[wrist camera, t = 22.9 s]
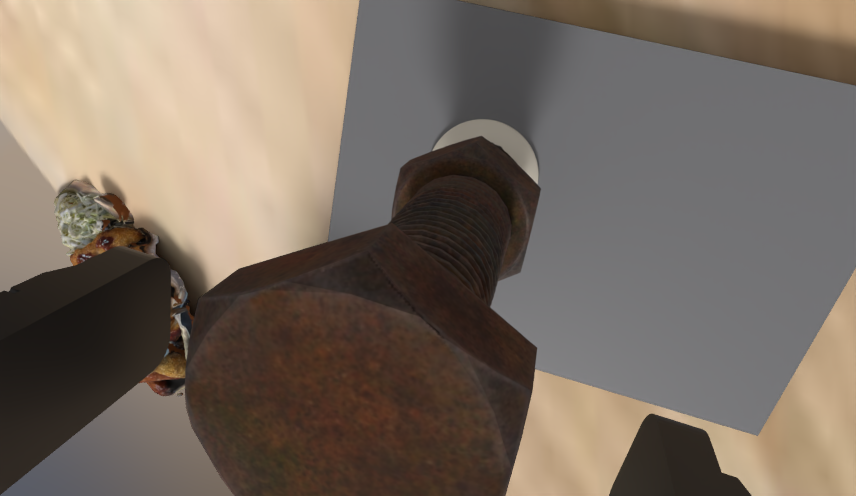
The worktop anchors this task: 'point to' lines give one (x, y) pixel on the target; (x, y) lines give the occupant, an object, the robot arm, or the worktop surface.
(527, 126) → the board
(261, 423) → the bolt
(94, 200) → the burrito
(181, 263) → the worktop surface
